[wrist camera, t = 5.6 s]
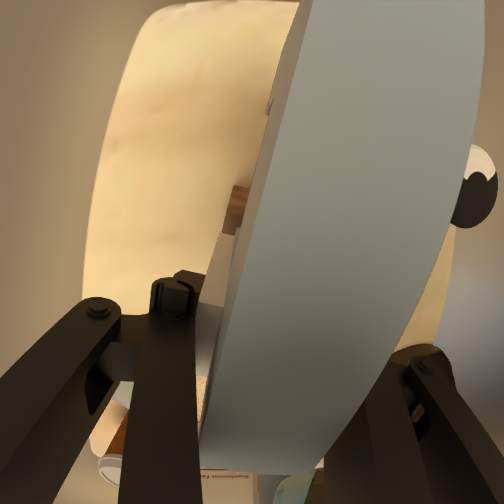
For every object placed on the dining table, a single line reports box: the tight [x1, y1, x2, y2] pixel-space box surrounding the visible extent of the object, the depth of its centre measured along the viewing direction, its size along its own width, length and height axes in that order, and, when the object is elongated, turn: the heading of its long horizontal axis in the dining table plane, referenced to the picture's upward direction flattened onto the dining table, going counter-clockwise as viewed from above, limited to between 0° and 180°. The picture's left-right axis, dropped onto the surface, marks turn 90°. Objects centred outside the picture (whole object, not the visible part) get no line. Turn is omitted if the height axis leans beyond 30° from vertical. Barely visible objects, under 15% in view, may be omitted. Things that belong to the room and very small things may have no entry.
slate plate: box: [198, 0, 485, 476], centre depth 9 cm, size 3×12×10 cm, turn 166°
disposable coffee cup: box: [98, 411, 129, 487], centre depth 35 cm, size 10×10×12 cm
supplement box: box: [198, 422, 259, 504], centre depth 35 cm, size 9×9×15 cm
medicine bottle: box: [450, 145, 498, 228], centre depth 22 cm, size 7×7×12 cm
